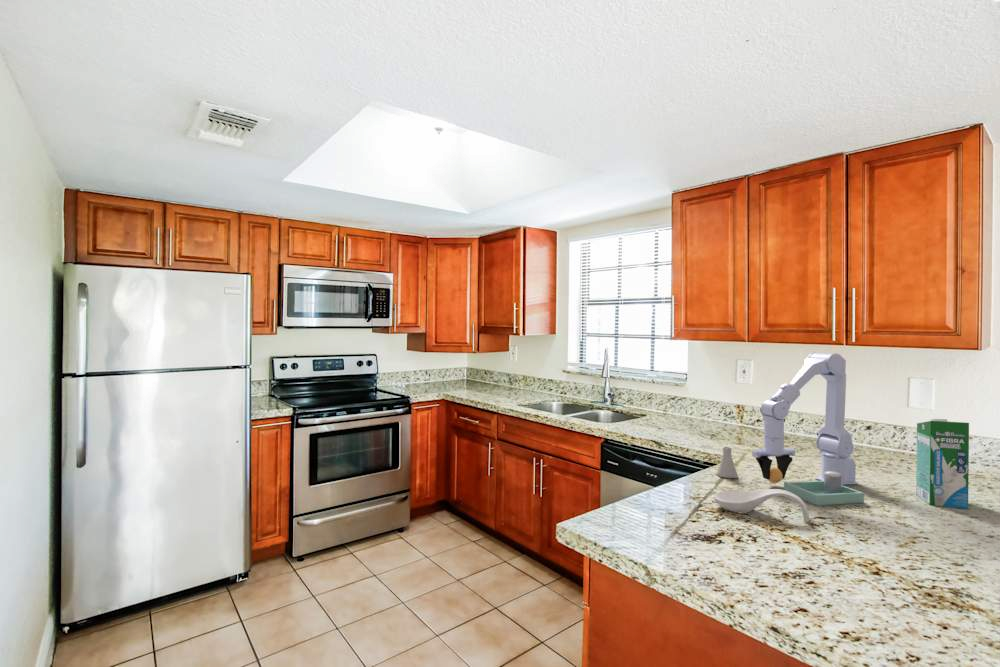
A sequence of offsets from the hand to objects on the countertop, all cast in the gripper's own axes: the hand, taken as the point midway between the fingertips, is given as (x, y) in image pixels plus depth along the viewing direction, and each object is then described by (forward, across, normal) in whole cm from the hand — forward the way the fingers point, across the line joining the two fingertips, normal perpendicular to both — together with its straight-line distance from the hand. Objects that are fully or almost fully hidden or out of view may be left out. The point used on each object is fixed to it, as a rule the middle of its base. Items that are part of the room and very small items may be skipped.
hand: (773, 478), depth 165 cm
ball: (-1, 0, 0) cm, 1 cm away
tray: (+3, -7, +12) cm, 15 cm away
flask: (+3, +8, -13) cm, 16 cm away
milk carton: (+3, -39, +22) cm, 45 cm away
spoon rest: (+3, +22, +21) cm, 30 cm away
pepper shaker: (+2, -10, +12) cm, 16 cm away
